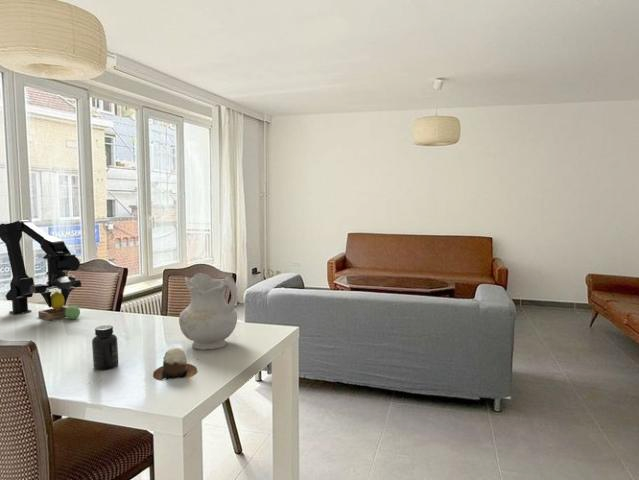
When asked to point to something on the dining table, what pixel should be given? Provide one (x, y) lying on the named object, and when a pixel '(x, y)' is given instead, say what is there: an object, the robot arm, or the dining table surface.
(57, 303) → the lemon
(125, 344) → the dining table surface
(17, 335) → the dining table surface
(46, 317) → the walnut tray
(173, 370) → the brown brimmed hat
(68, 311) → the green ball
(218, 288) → the ceramic pitcher
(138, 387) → the dining table surface
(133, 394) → the dining table surface
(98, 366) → the supplement bottle
